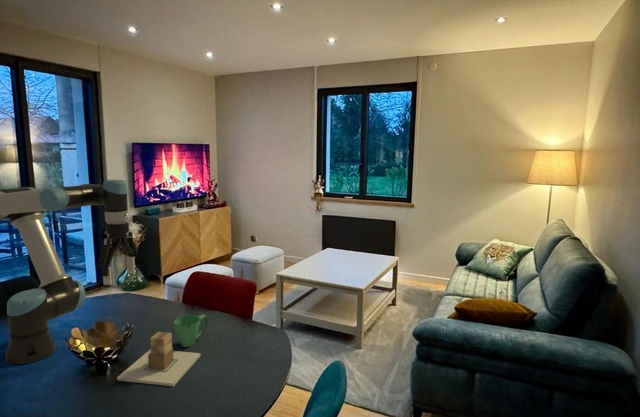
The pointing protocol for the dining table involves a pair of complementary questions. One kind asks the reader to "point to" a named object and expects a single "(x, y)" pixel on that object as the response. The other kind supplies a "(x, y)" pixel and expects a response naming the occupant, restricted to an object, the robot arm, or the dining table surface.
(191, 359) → the cream square board
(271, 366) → the dining table surface
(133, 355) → the dining table surface
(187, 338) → the mug
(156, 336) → the oak block
